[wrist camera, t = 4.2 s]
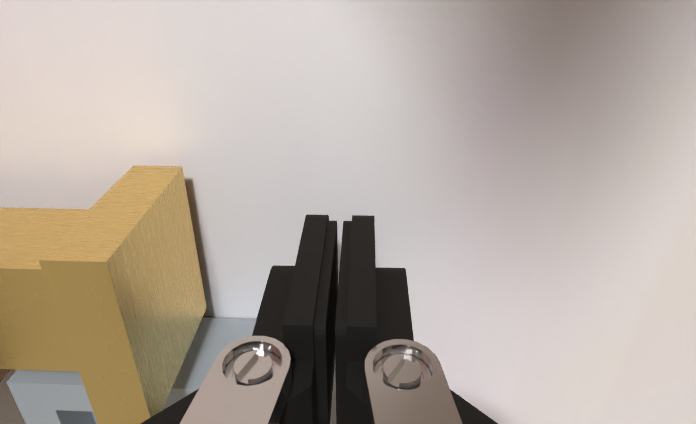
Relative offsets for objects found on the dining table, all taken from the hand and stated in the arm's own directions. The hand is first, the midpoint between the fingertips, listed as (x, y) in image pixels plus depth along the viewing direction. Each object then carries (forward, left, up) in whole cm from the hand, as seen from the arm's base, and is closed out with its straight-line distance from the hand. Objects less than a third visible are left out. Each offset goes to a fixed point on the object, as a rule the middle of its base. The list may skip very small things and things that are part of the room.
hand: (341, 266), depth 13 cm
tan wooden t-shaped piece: (+7, 0, -1) cm, 8 cm away
